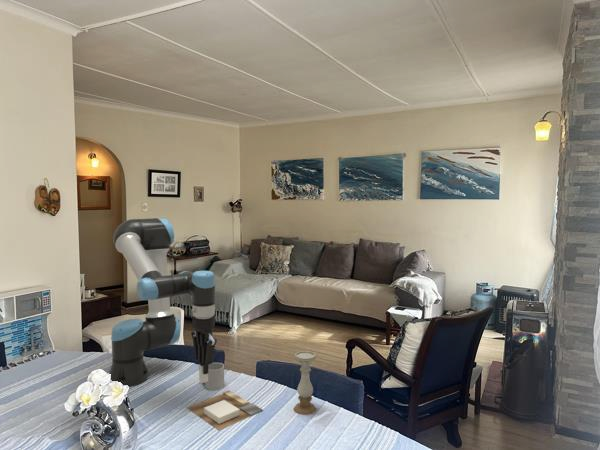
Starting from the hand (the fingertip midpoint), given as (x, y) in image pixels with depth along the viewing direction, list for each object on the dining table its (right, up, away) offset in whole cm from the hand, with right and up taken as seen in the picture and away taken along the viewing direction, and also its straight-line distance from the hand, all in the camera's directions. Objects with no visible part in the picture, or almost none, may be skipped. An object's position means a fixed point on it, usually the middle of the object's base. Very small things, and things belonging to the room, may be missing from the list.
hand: (203, 381), depth 150 cm
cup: (0, -8, +15) cm, 17 cm away
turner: (+12, -8, +1) cm, 15 cm away
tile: (+5, -7, -4) cm, 9 cm away
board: (+8, -9, -3) cm, 13 cm away
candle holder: (+36, -10, -3) cm, 37 cm away
